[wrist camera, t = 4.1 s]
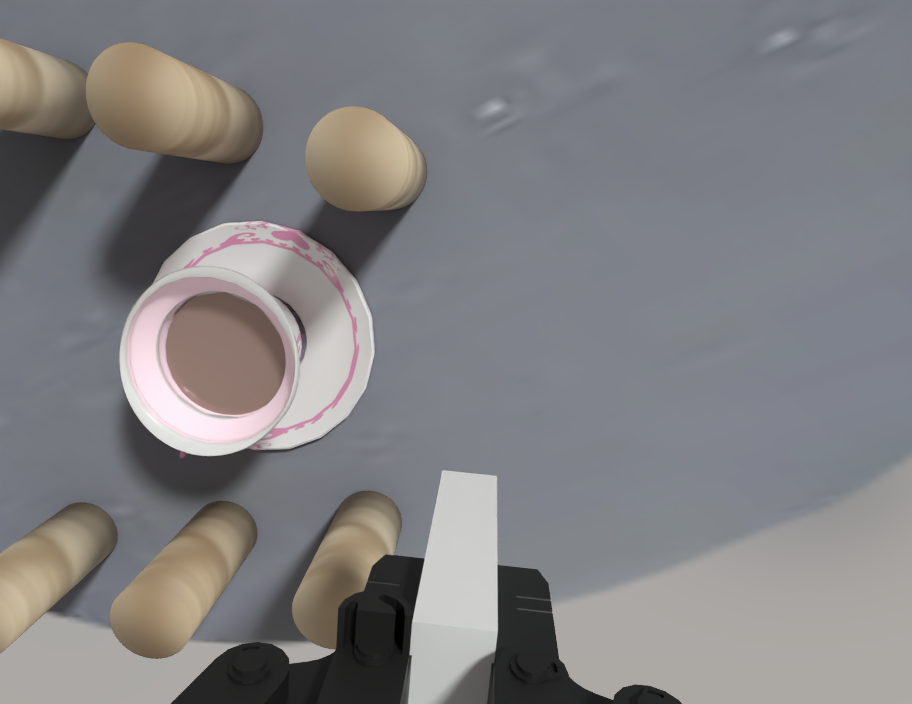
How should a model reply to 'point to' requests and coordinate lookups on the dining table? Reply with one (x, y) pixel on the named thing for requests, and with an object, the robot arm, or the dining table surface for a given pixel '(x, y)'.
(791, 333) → the dining table surface
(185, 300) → the teacup
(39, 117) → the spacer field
